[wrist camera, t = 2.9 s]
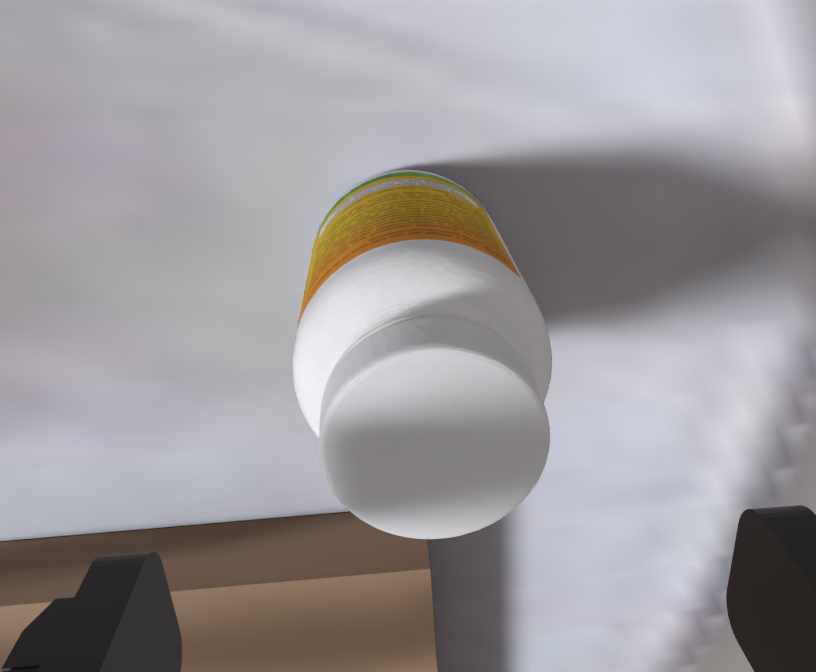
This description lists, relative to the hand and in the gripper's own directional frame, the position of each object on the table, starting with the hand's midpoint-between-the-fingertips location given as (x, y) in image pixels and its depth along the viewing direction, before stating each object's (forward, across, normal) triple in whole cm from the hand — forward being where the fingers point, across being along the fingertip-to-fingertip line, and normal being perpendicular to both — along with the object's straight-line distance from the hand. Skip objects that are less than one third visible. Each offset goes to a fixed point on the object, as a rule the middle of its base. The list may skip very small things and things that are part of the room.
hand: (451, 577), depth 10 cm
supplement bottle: (+12, 0, 0) cm, 13 cm away
